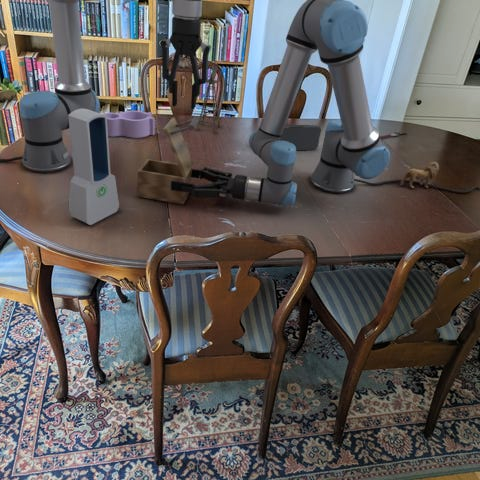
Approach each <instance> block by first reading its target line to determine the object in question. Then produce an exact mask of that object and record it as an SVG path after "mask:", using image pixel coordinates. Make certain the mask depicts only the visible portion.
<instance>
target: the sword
mask: <svg viewBox="0 0 480 480" xmlns="http://www.w3.org/2000/svg"><path fill="white" fill-rule="evenodd" d="M404 134H406V133H402V134H400V132H393V133H390V134H387V135H381V136H380V140H381V139H386V138H390V137H394V136H395V137H398V136H399V135H404Z"/></svg>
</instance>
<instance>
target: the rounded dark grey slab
mask: <svg viewBox="0 0 480 480" xmlns="http://www.w3.org/2000/svg"><path fill="white" fill-rule="evenodd" d="M321 133H322V127H321V126H319V125H318V124H292V125H291V124H290V125H289V124H285V127H284V130H283V132H282V135H281V138H280V141H287V142H289V143H292V144H294V145H295V147H296V151H312V150H317V148H318V147H319V144H320V137H321Z"/></svg>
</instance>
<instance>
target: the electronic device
mask: <svg viewBox="0 0 480 480" xmlns="http://www.w3.org/2000/svg"><path fill="white" fill-rule="evenodd" d="M103 114H104V113H100V112H99V113H97V112H94V111H91V110H88V109H77V110H75V111H73V112H71V113H70V114H69V115H68V119H69V135H70V136H69V137H70V145H71V154H72V155H71V156H72V164H73V172H74V175H73V176H72V178H71V180H70V181H69V184H70V185H69V196H68V197H69V199H68V211H69V213H70V216H71V217H73V218H74V219H76V220H78V221H81V222H83V223H84V224H87V225H89V226H92V225H94V224H96V223H98V222H99V221H102V220H103V219H105V218H107V217H109V216H111V215H113V214H115V213H117V212H118V210H119V208H120V202H119V195H118V188H117V181H116V175H114V174H112V173H111V161H110V145H109V143H110V142H109V136H108V127H107V116H106V115H103Z"/></svg>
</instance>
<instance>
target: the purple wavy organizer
mask: <svg viewBox="0 0 480 480" xmlns="http://www.w3.org/2000/svg"><path fill="white" fill-rule="evenodd" d="M102 114H103V115H106V116H107V127H108V137H127V138H133V139H140V138H145V137H148V136H155V135H156V133H155V132H156V131H155V130H156V129H155V128H156V126H155V123H156V122H155V120H156V119H155V117H153V113H152V112H151V111H148V112H146V111H141V110H125V111H121V112H104V113H102Z"/></svg>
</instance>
